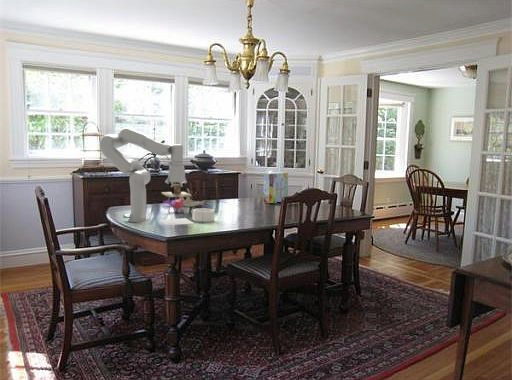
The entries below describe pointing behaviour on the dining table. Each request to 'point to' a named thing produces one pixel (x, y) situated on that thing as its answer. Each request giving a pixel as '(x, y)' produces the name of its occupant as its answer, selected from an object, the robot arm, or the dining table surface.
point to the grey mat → (176, 221)
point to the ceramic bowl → (203, 215)
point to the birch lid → (176, 192)
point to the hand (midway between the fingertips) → (176, 192)
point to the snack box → (275, 186)
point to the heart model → (175, 204)
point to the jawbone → (190, 201)
